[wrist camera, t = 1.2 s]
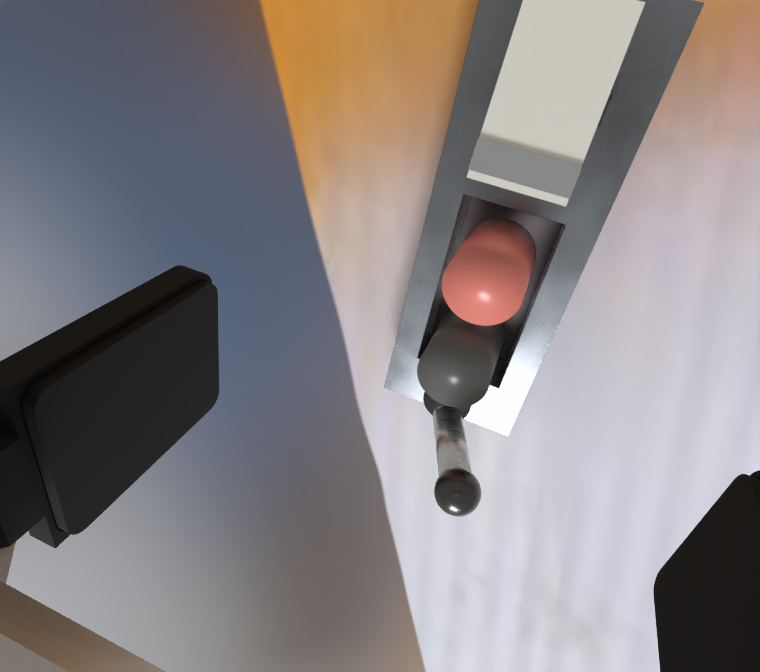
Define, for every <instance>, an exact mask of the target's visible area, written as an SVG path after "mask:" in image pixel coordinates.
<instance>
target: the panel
mask: <svg viewBox="0 0 760 672" xmlns="http://www.w3.org/2000/svg"><path fill="white" fill-rule="evenodd" d="M638 1H643V2H645V5H644V7H643V10H642V12H641V15H640V18H639V20H638V23H637V25H636V28H635V30H634V33H633V36H632V38H631V41H630V43H629V46H628V48H627V51H626V54H625V56H624V59H623V61H622V64H621V66H620V69H619V72H618V74H617V77H616V79H615V82H614V84H613V87H612V90H611V92H610V95H609V97H608V100H607V102H606V105H605V108H604V110H603V113H602V115H601V118H600V120H599V123H598V126H597V128H596V131H595V133H594V136H593V138H592V141H591V144H590V146H589V149H588V151H587V154H586V156H585V159H584V162H583V164H582V169H581V171H580V174H579V176H578V179H577V182H576V184H575V187H574V189H573V192H572V194H571V197H570V199H569V200H568V203H567V205H566V207H565V206H562V205H559V204H555V203H552V202H548V201H545V200H542V199H538V198H535V197H532V196H528V195H525V194H521V193H518V192H515V191H511V190H508V189H504V188H501V187H498V186H494V185H491V184H487V183H484V182H481V181H477V180H474V179H470V178H467V174H468V171H469V170H468V168H469V165H470V162H471V158H472V155H473V152H474V149H475V146H476V143H477V140H478V138H479V137H480V133H481V130H482V127H483V124H484V121H485V118H486V115H487V112H488V108H489V105H490V102H491V99H492V96H493V93H494V90H495V86H496V83H497V80H498V77H499V74H500V71H501V68H502V64H503V61H504V58H505V55H506V52H507V49H508V46H509V43H510V39H511V36H512V33H513V30H514V27H515V24H516V21H517V17H518V14H519V11H520V8H521V5H522V2H523V0H479V4H478V8H477V12H476V16H475V20H474V24H473V28H472V32H471V36H470V40H469V44H468V48H467V53H466V57H465V61H464V65H463V69H462V73H461V77H460V81H459V85H458V89H457V93H456V97H455V101H454V105H453V109H452V113H451V118H450V122H449V126H448V130H447V134H446V138H445V142H444V146H443V150H442V154H441V158H440V162H439V166H438V170H437V174H436V178H435V182H434V187H433V191H432V195H431V199H430V203H429V207H428V211H427V215H426V219H425V223H424V227H423V231H422V235H421V239H420V243H419V247H418V251H417V256H416V260H415V264H414V268H413V272H412V276H411V280H410V284H409V288H408V292H407V296H406V300H405V304H404V308H403V312H402V316H401V320H400V325H399V329H398V333H397V337H396V341H395V345H394V349H393V353H392V357H391V361H390V365H389V369H388V373H387V377H386V381H385V385H384V388H387V389H389V390H392V391H394V392H397V393H400V394H402V395H405V396H407V397H410V398H412V399H415V400H417V401H420V402H422V403H424V404H425V407H426V409H427V410H428V411H429V412H430V413H431V414H432V415H433V412H434V410H435V408H436V407H437V406H438V405H439V404H441V403H439V402H437V401H435V400H434V399H432V398H431V397H430V396H429V395H428V394H427V393H426V392H425V391H424V390H423V388H422V387H421V385H420V383H419V380H418V377H417V366H418V362H419V360H420V358H421V356H422V355H423V353H424V351H425V349H426V348H427V346H428V344H429V342H430V340H431V339H432V337H433V335H432V334H431V332H432V328H433V325H434V321H435V318H436V314H437V311H438V308H439V304H440V301H441V297H442V294H443V292H442V278H443V274H444V272H445V270H446V268H447V266H448V265H449V263H450V262H451V260H452V259H453V256H454V253H455V249H456V246H457V242H458V239H459V235H460V232H461V229H462V225H463V222H464V218H465V215H466V211H467V208H468V204H469V201H470V198H471V196H472V197H476V198H479V199H482V200H486V201H489V202H492V203H496V204H499V205H502V206H506V207H509V208H512V209H516V210H519V211H522V212H526V213H529V214H532V215H536V216H539V217H542V218H545V219H549V220H552V221H555V222H559V223H562V224H563V225H562V228H561V230H560V233H559V235H558V238H557V240H556V243H555V245H554V247H553V250H552V252H551V255H550V257H549V260H548V262H547V265H546V267H545V270H544V272H543V274H542V277H541V279H540V282H539V284H538V287H537V289H536V292H535V294H534V297H533V299H532V302H531V304H530V306H529V309H528V311H527V314H526V316H525V319H524V321H523V324H522V326H521V329H520V331H519V333H518V336H517V338H516V341H515V343H514V346H513V348H512V351H511V353H510V356H509V358H508V361H504V360H501V359H498V360H497V363H496V366H495V369H494V372H493V376H492V379H491V382H490V385H489V388H488V391H487V393H486V395H485V396H484V397H483V398H482V399H481V400H480V401H479V402H478V403H476V404H474V405H471V406H468V407H458V408H459V409H460V411H461V414H462V419H466V420H468V421H471V422H473V423H476V424H479V425H481V426H484V427H486V428H489V429H491V430H494V431H496V432H499V433H501V434H504V435H507V436H508V434H509V432H510V430H511V428H512V426H513V423H514V421H515V419H516V417H517V415H518V412H519V410H520V408H521V406H522V404H523V401H524V399H525V397H526V395H527V393H528V390H529V388H530V386H531V384H532V381H533V379H534V377H535V375H536V373H537V370H538V368H539V366H540V364H541V362H542V359H543V357H544V355H545V353H546V351H547V348H548V346H549V344H550V342H551V340H552V337H553V335H554V333H555V331H556V329H557V326H558V324H559V322H560V320H561V318H562V315H563V313H564V311H565V309H566V307H567V304H568V302H569V300H570V298H571V296H572V293H573V291H574V289H575V287H576V285H577V282H578V280H579V278H580V276H581V274H582V271H583V269H584V267H585V265H586V263H587V260H588V258H589V256H590V254H591V252H592V249H593V247H594V245H595V243H596V241H597V238H598V236H599V234H600V232H601V230H602V227H603V225H604V223H605V221H606V219H607V216H608V214H609V212H610V210H611V208H612V205H613V203H614V201H615V199H616V197H617V194H618V192H619V190H620V188H621V185H622V183H623V181H624V179H625V177H626V174H627V172H628V170H629V168H630V166H631V163H632V161H633V159H634V157H635V155H636V152H637V150H638V148H639V146H640V144H641V141H642V139H643V137H644V135H645V133H646V130H647V128H648V126H649V124H650V122H651V119H652V117H653V115H654V113H655V111H656V108H657V106H658V104H659V102H660V100H661V97H662V95H663V93H664V91H665V89H666V86H667V84H668V82H669V80H670V78H671V75H672V73H673V71H674V69H675V67H676V64H677V62H678V60H679V58H680V56H681V53H682V51H683V49H684V47H685V45H686V42H687V40H688V38H689V36H690V34H691V31H692V29H693V27H694V25H695V23H696V20H697V18H698V16H699V14H700V12H701V9H702V7H703V5H704V3H702V2H697V1H693V0H638Z"/></svg>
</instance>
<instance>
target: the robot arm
mask: <svg viewBox="0 0 760 672" xmlns="http://www.w3.org/2000/svg"><path fill="white" fill-rule="evenodd" d="M217 295H218V294H217V288H216V286H215V285H213V284H212V280H211V278H210V277H209V276H208V275H207V274H205V273H202V272H199V271H196V270H193V269H191V268H188V267H185V266H180V265H178V266H175V267H173V268H171V269H169V270H168V271H166V272H164V273H162V274H160V275H158V276H156V277H155V278H153V279H151V280H149V281H147V282H145V283H144V284H142V285H140V286H138V287H136V288H135V289H133V290H131V291H129V292H127V293H125V294H123V295H122V296H120V297H118V298H116V299H114V300H112V301H110V302H109V303H107V304H105V305H103V306H101V307H99V308H98V309H96V310H94V311H92V312H90V313H88V314H87V315H85V316H83V317H81V318H79V319H77V320H76V321H74V322H72V323H70V324H68V325H67V326H65V327H63V328H61V329H59V330H57V331H55V332H53V333H52V334H50V335H48V336H46V337H44V338H43V339H41V340H39V341H37V342H35V343H33V344H31V345H30V346H28V347H26V348H24V349H22V350H20V351H19V352H17V353H15V354H13V355H11V356H9V357H8V358H6V359H4V360H2V361H0V672H165V671H163V670H162V669H160V668H158V667H156V666H154V665H153V664H150V663H149V662H147V661H145V660H144V659H142V658H140V657H138V656H136V655H134V654H133V653H131V652H129V651H127V650H125V649H123V648H122V647H120V646H118V645H116V644H114V643H113V642H111V641H109V640H107V639H105V638H103V637H102V636H99V635H98V634H96V633H94V632H93V631H91V630H89V629H87V628H85V627H83V626H82V625H80V624H78V623H76V622H74V621H72V620H71V619H69V618H67V617H65V616H63V615H61V614H60V613H58V612H56V611H54V610H52V609H51V608H49V607H47V606H45V605H43V604H41V603H40V602H38V601H36V600H34V599H32V598H31V597H28V596H27V595H25V594H23V593H21V592H19V591H18V590H16V589H14V588H12V587H11V586H8V585H7V584H6V581H7V577H8V573H9V568H10V564H11V560H12V556H13V551H14V547H15V543H16V541H17V540H18V539H19V538H20V537H21V536H22V535H24V534H25V533H26V532H27V531H29V533H30V535H31V536H33V537H35V538H36V539H39V540H41V541H42V542H44V543H46V544H48V545H50V546H52V547H54V548H57V547H58V546H59V544H61V543H62V542H63V541H64V540H65V539H66V538H67V537H68V536H69V535H70V534H73V535H74V534H78V533H80V532H82V531H83V530H84V529H86V528H87V527H88V526H89V525H90V524H91V523H92V522H93V521H94V520H95V519H96V518H97V517H98V516H99V515H100V514H102V513H103V512H104V511H105V510H106V509H107V508H108V507H109V506H110V505H111V504H112V503H113V502H114V501H115V500H116V499H117V498H118V497H119V496H120V495H121V494H123V492H124V491H126V490H127V489H128V488H129V487H130V486H131V485H132V484H133V483H134V482H135V481H136V480H137V479H138V478H139V477H140V476H141V475H142V474H143V473H144V472H145V471H147V470H148V469H149V468H150V467H151V466H152V465H153V464H154V463H155V462H156V461H157V460H158V459H159V458H160V457H161V456H162V455H163V454H164V453H165V452H166V451H168V450H169V449H170V448H171V447H172V445H174V444H175V443H176V442H177V441H178V440H179V439H180V438H181V437H182V436H183V435H184V434H185V433H186V432H187V431H188V430H189V429H191V427H193V426H194V425H195V424H196V423H197V422H198V421H199V420H200V419H201V418H202V417H203V416H204V415H205V414H206V413H207V412H208V411H209V410H210V409H211V408H212V407H213V406H214V404H215V403H216V400H217V398H218V395H219V361H218V359H219V358H218V296H217ZM654 604H655V615H656V627H657V638H658V650H659V661H660V672H760V471H756V472H754V473H752V474H751V475H750V476H749V475H746V474H741V475H739V476H737V477H736V478H735V479H734V481H733V482H732V483H731V484H730V485H729V487H728V488H727V489H726V490H725V492H724V493H723V494H722V495H721V496H720V498H719V499H718V500H717V501H716V503H715V504H714V505H713V506H712V507H711V509H710V510H709V511H708V512H707V514H706V515H705V516H704V517H703V518H702V520H701V521H700V522H699V523H698V524H697V526H696V527H695V528H694V529H693V531H692V532H691V533H690V534H689V535H688V537H687V538H686V539H685V540H684V542H683V543H682V544H681V545H680V546H679V548H678V549H677V550H676V551H675V553H674V554H673V555H672V556H671V557H670V559H669V560H668V561H667V562H666V564H665V565H664V566H663V567H662V568H661V570H660V571H659V573H658V575H657V577H656V580H655V584H654Z"/></svg>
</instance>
